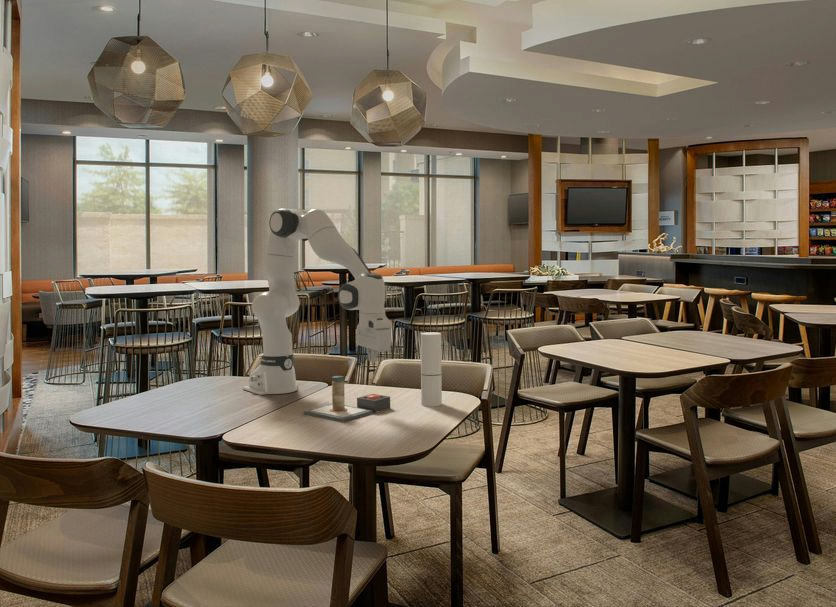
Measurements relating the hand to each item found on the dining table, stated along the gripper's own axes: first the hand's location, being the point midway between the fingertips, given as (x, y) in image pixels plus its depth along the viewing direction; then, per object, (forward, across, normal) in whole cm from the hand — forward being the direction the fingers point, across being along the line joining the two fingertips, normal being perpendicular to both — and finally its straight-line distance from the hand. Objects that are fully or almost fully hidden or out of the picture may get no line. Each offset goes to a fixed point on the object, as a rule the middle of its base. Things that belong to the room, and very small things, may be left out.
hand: (372, 361), depth 226 cm
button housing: (+16, 0, 0) cm, 16 cm away
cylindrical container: (+16, +4, +21) cm, 27 cm away
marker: (+15, 0, -13) cm, 20 cm away
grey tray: (+16, 0, -13) cm, 21 cm away
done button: (+15, 0, 0) cm, 15 cm away
